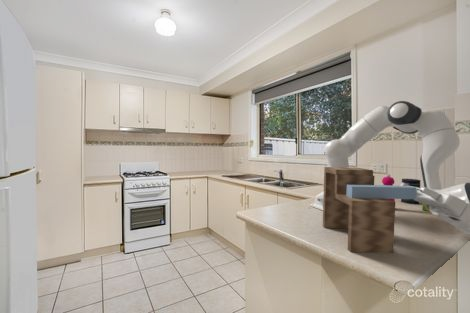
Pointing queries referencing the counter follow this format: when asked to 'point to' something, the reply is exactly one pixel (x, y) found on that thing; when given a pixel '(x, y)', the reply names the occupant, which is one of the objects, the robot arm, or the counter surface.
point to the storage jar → (415, 184)
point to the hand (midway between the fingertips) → (411, 186)
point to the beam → (381, 191)
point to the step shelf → (358, 211)
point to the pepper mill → (388, 182)
